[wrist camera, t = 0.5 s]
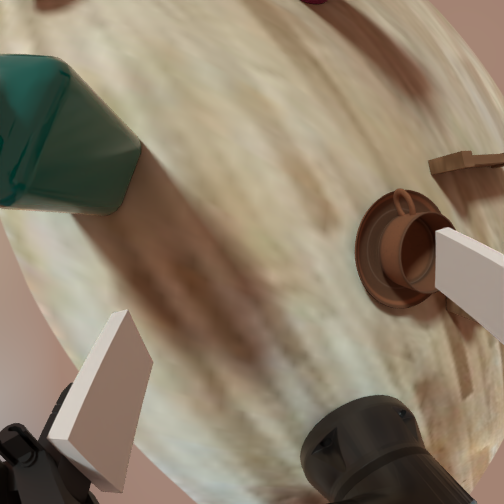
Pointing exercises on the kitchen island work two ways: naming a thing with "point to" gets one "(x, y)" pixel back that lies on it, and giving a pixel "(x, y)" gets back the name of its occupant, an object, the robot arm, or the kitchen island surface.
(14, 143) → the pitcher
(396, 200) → the cup and saucer
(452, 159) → the brown wooden rail pair
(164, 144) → the kitchen island surface
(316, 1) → the cup
